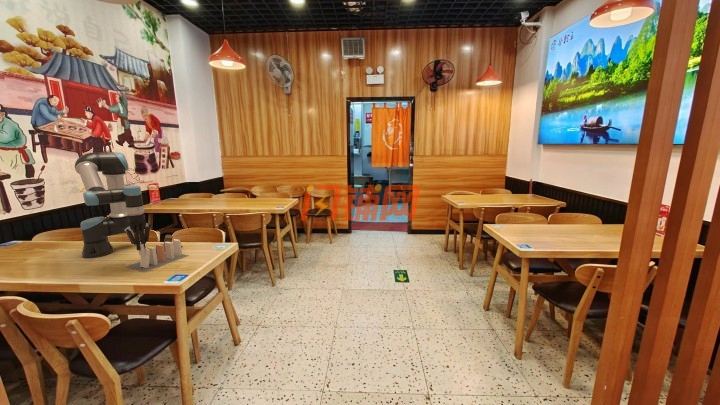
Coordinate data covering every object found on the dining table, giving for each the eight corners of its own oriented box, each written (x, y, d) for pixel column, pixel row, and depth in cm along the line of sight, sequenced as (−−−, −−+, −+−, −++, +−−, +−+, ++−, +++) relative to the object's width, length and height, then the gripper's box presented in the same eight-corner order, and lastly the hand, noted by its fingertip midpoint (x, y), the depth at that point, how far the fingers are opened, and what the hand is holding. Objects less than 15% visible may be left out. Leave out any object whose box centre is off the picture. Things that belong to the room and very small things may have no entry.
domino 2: (154, 265, 166) (152, 248, 164) (149, 263, 168) (146, 247, 166) (157, 264, 168) (155, 247, 166) (152, 262, 170) (149, 246, 168)
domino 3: (160, 259, 174) (158, 244, 172) (166, 261, 172) (164, 245, 170) (158, 260, 173) (155, 244, 171) (163, 262, 171) (161, 245, 169)
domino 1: (145, 267, 162) (147, 250, 162) (140, 266, 164) (141, 248, 164) (148, 267, 163) (150, 249, 163) (143, 266, 165) (144, 248, 165)
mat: (124, 268, 164) (124, 267, 164) (170, 252, 188) (170, 251, 188) (144, 273, 157) (144, 272, 157) (189, 256, 181) (189, 255, 181)
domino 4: (171, 259, 175) (169, 243, 173) (166, 257, 177) (164, 242, 175) (174, 258, 177) (172, 242, 175) (169, 257, 179) (166, 241, 177)
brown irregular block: (160, 260, 181) (162, 246, 178) (148, 254, 182) (151, 240, 179) (182, 249, 198) (185, 236, 195) (172, 244, 199) (174, 231, 196)
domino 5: (179, 256, 180) (177, 240, 178) (174, 255, 182) (172, 239, 180) (182, 255, 181) (180, 240, 179) (176, 254, 183) (174, 239, 181)
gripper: (126, 217, 150) (133, 260, 154) (152, 212, 162) (158, 252, 166) (118, 216, 153) (125, 258, 157) (144, 211, 165) (150, 250, 169)
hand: (142, 254), depth 162 cm, fingers closed
